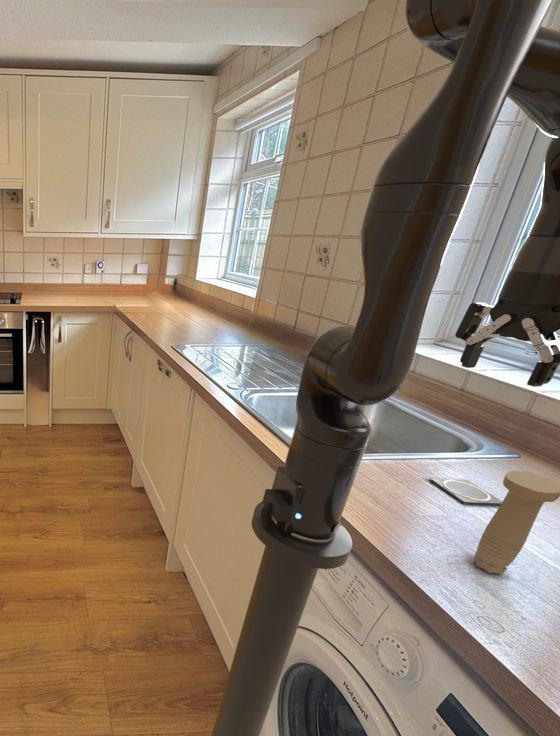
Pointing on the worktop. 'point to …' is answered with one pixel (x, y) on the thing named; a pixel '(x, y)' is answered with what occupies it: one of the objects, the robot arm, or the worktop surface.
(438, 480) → the slate board
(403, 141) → the robot arm
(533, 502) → the handle
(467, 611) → the worktop surface
